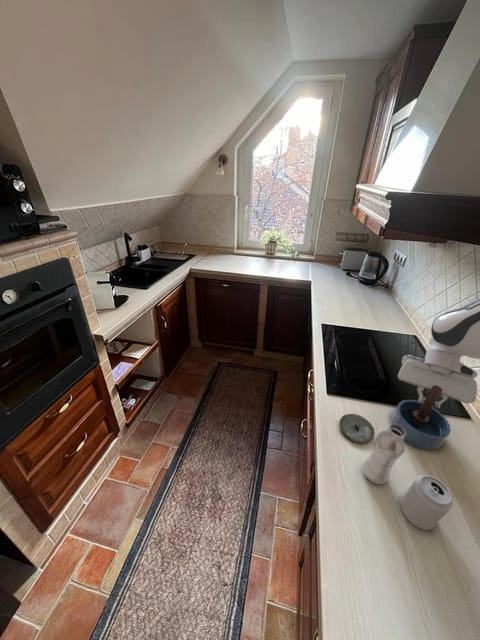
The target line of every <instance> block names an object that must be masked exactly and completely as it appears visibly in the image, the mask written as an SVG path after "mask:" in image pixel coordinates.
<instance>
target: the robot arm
mask: <svg viewBox="0 0 480 640" xmlns="http://www.w3.org/2000/svg"><path fill="white" fill-rule="evenodd" d="M430 328H431V329H430V331H431V335H430V338H429V343H430V344H429V347H428V349H427V350H426V352H425V356H424V358H422V357H419V356H414V355H412V354H407V355H404V356H403V357H402V358H401V361H400V362H401V363H400V364H401V367H400V369H399V371H398V373H397V379H398V380H399V381H400V382H401V381H402V382H404V383H407V384H409V385H412V386H414V387H415V386H416V387H417V388H416V392H417V394H418V400H417V401H419V402H422V403H425V400H426V396H424V394H423V391H424V390H427V391H430V390H431V388H432V386H434V385H435V386H438V387H440V388H441V389H442V392H441V394H440V396H439V398H440V399H439V400H436V402H435V404H434V405H433V408H435V409H440V408H441V406H442V404H443V403H444V402H445V401H447V400H448V398H450V399H453V400H456V401H457V402H461V403H463V404H467V405H468V404H473V403H475V402H476V401H477V400H476V399H477V394H478V382H477V381H476V378H477V377H478V372H477V371H476V370H475V369H473V368H471V367H469V366H468V365H466V364H465V363H463V362H461V358H462V357H467V358H471V359H477V360H480V297H479V298H477V299H475V300H473V301H471V302H469V303H467V304H465V305H464V306H461V307H458V308H455V309H452V310H449V311H446V312H444V313H442V314H440V315H439V316H437V317H436V318H435V319H434V320H433V322H432V323H431V327H430Z"/></svg>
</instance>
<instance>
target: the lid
mask: <svg viewBox="0 0 480 640" xmlns="http://www.w3.org/2000/svg"><path fill="white" fill-rule="evenodd" d="M339 429H340V432H341V433H342V435H344V436H345V437H346V438H347V439H348V440H350V441H351V442H353V443H357V444H367V443H369V442H371V441H372V440H373V439H374V437H375V428H374V427H373V425H372V423H371V422H370V421H369V420H368V419H367V418H365V417H363V416H362V415H360V414H356V413H346V414H344V415H342V416H341V418H340V420H339Z"/></svg>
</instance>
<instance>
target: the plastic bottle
mask: <svg viewBox="0 0 480 640" xmlns="http://www.w3.org/2000/svg"><path fill="white" fill-rule="evenodd" d="M405 435H406V432H405V430H404V428H403V427H401V426H400V425H398V424H392V423H391V424H390V425H389V426H388V428H386V430H382V431H381V432H379V433H378V434H377V436H376V438H375V444H374V447H373V450H372V452H371V453H370V455H369V456H368V457H367V458H366V459H365V461H364V462H363V467H362V469H363V474H364V475H365V477H366V478H367V479H368V481H369V482H371V483H372V484H376V485H383V484H385V483H386V482H387V481H388V480H389V478H390V476H391V471H392V469H393V466H394V465H395V463H396V462H397V461H398V460H399V458H401V456H403V454H404V453H405V451H406V445H405V440H404V437H405Z"/></svg>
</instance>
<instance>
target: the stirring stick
mask: <svg viewBox="0 0 480 640" xmlns="http://www.w3.org/2000/svg"><path fill="white" fill-rule="evenodd" d="M441 392H442V389H441V388H440V387H438V386H435V385H434V386H432V388H431V390H428V393H427V394H426V396H425V397H426V400H425V403H422V405H421V407H420V409H419V410H415V411H414V412H413V413H412V415H411V420H412V422H413V423H415V424H416V425H418V426H426V424H427V423H428V421H429V417H428V414H429V412H430V410H431V409H432V407H433V405H434V404H435V402H436V401H438V399H439V398H440V394H441ZM433 408H434V407H433Z"/></svg>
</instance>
